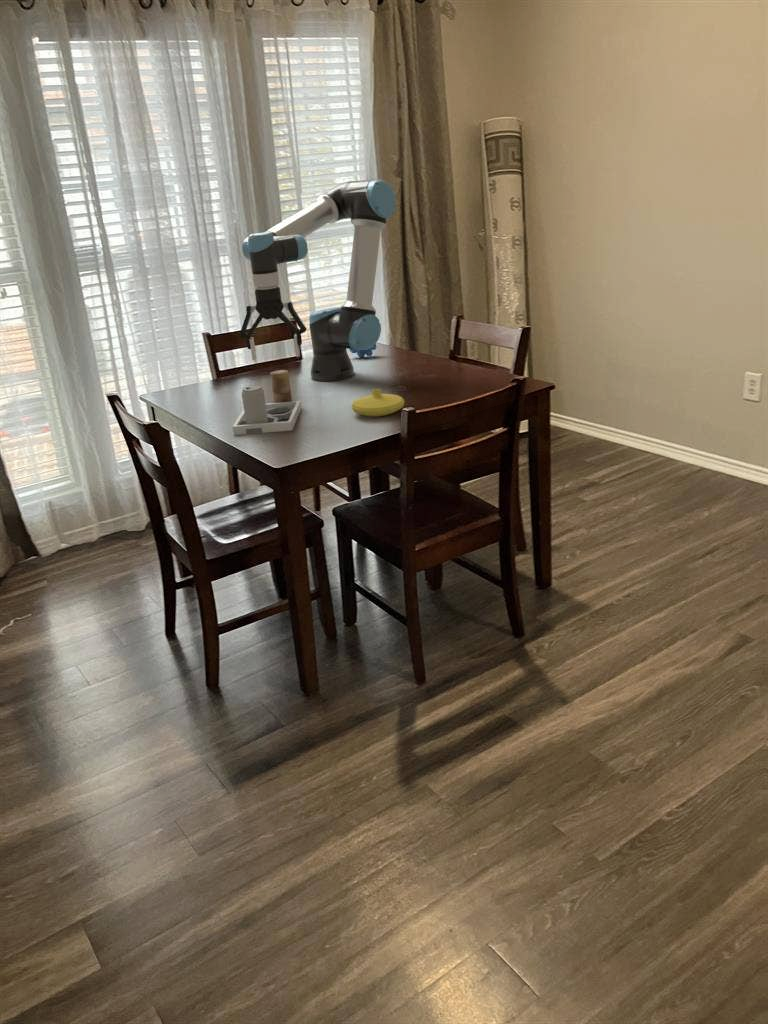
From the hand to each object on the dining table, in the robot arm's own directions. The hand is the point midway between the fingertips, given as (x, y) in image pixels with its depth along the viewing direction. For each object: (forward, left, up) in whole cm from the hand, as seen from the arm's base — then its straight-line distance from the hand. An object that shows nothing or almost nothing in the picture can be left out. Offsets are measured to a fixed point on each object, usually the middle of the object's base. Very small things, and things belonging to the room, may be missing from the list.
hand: (276, 357), depth 265 cm
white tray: (+2, +15, -16) cm, 22 cm away
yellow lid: (-31, +15, -16) cm, 38 cm away
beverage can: (+5, +20, -16) cm, 26 cm away
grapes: (-22, -59, -16) cm, 65 cm away
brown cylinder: (0, 0, -16) cm, 16 cm away
